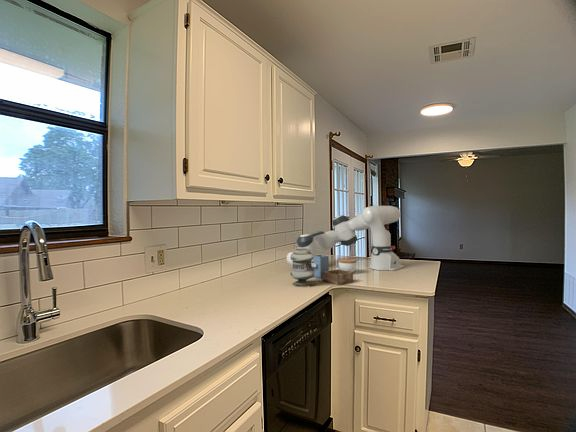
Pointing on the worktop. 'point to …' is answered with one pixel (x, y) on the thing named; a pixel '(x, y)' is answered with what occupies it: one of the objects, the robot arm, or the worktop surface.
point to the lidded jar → (347, 264)
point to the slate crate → (320, 265)
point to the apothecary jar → (302, 266)
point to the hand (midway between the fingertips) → (322, 264)
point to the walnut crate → (338, 277)
